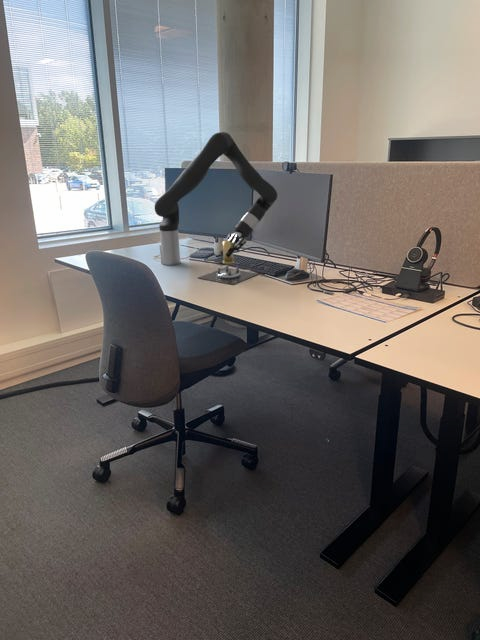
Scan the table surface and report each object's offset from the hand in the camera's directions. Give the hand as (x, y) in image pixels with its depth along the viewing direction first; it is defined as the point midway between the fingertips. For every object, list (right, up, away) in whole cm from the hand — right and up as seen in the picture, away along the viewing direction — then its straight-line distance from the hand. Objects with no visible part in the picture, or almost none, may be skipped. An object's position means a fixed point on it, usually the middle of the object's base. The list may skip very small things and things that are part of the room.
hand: (224, 254), depth 204 cm
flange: (+2, -9, +5) cm, 10 cm away
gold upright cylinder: (+2, -3, +2) cm, 5 cm away
